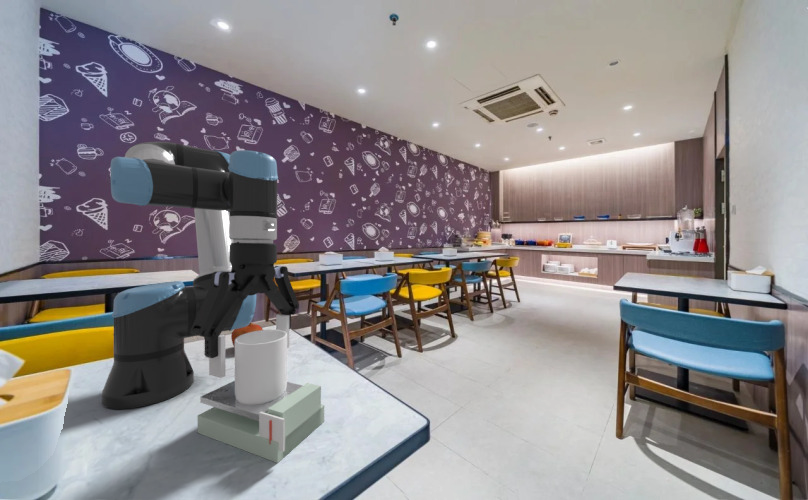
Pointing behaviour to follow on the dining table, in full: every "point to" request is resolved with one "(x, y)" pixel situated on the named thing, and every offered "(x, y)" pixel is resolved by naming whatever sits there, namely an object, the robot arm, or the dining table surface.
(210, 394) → the speckled metal plate
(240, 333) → the tomato
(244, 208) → the robot arm
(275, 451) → the scale base
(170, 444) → the dining table surface
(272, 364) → the cup
